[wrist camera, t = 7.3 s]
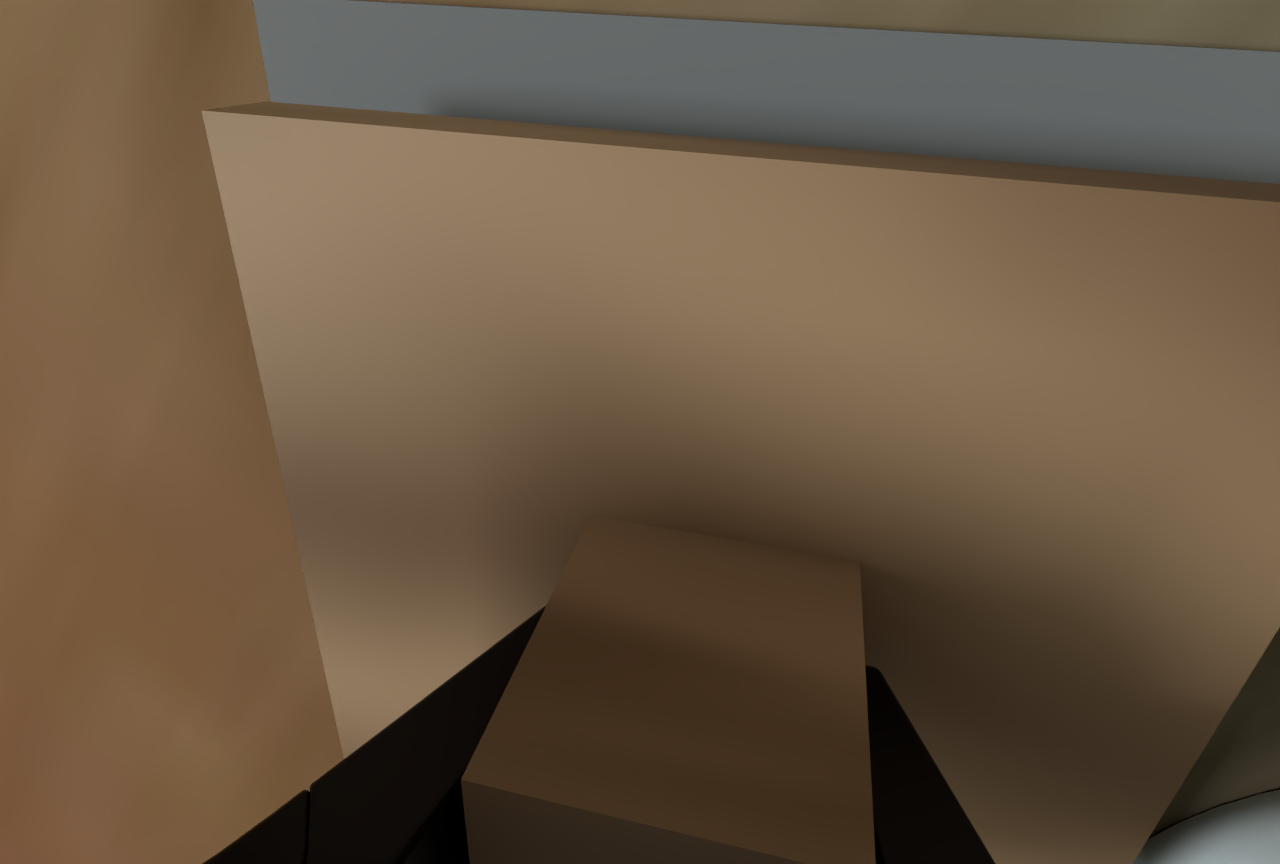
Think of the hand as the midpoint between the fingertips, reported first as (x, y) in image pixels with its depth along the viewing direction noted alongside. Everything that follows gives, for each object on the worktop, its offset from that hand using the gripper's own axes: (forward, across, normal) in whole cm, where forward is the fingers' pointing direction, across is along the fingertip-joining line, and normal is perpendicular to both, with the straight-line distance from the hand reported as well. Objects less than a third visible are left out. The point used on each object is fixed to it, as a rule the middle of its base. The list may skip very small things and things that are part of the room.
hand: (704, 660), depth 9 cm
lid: (+1, 0, 0) cm, 1 cm away
